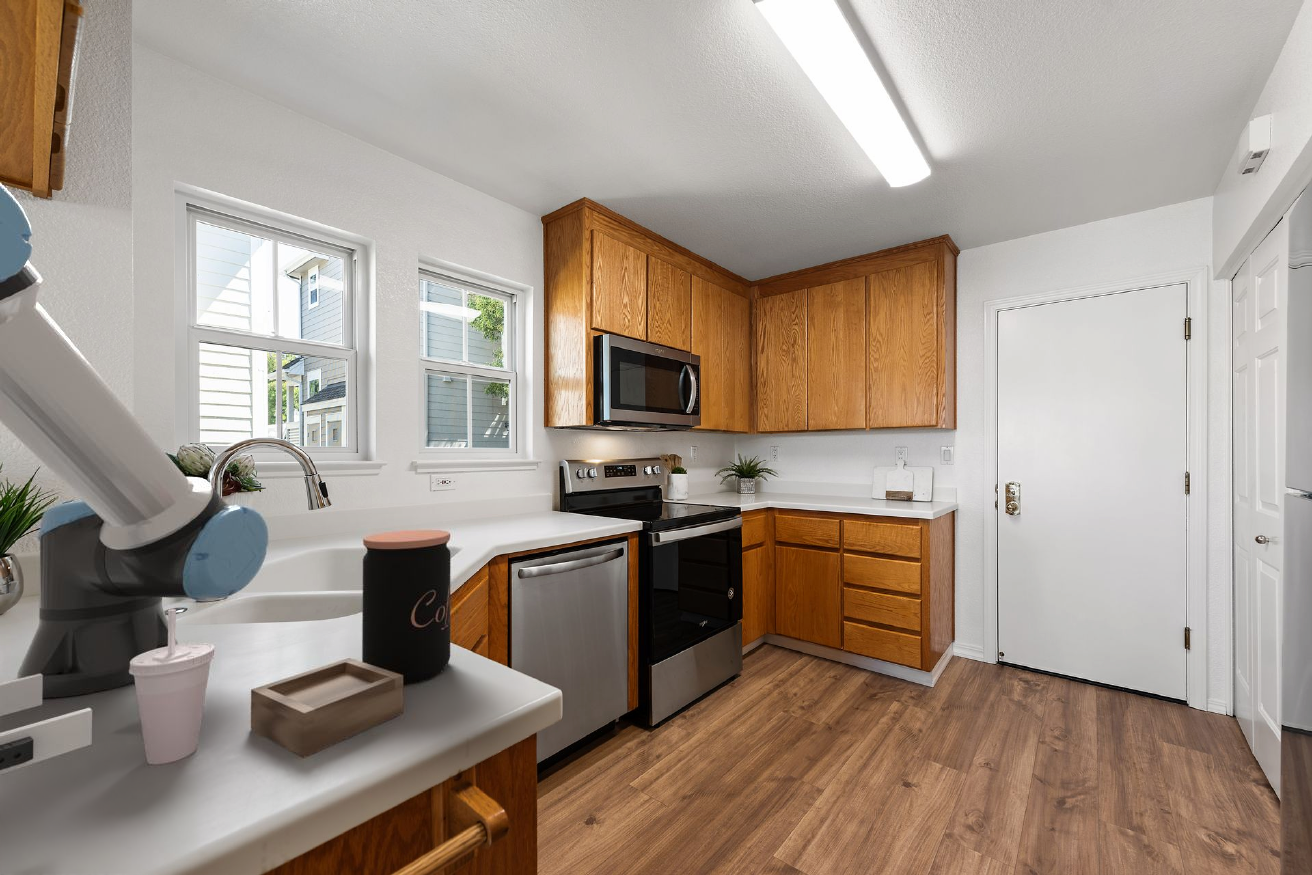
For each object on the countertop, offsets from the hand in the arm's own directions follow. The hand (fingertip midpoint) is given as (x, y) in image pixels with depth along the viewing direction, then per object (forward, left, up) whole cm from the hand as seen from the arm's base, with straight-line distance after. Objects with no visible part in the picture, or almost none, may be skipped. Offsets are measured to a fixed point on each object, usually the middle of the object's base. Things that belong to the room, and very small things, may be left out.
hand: (64, 705), depth 49 cm
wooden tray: (+7, +19, -7) cm, 21 cm away
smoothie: (0, +7, -8) cm, 11 cm away
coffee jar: (+2, +32, -8) cm, 33 cm away
